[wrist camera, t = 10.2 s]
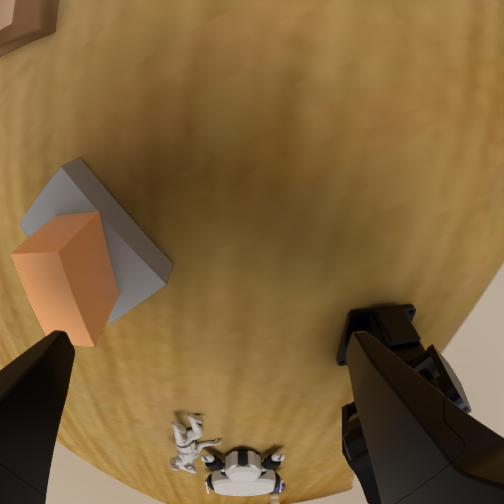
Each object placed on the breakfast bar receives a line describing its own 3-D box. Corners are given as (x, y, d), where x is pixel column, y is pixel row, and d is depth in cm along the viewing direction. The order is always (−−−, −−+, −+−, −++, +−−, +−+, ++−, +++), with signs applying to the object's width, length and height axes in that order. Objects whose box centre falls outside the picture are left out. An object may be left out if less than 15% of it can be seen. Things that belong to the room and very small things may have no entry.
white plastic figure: (223, 408, 31) (227, 468, 34) (196, 391, 35) (203, 451, 37) (169, 438, 26) (184, 496, 28) (144, 415, 29) (161, 475, 31)
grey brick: (174, 260, 21) (166, 284, 19) (122, 298, 23) (111, 323, 20) (83, 155, 17) (60, 166, 15) (39, 209, 19) (18, 225, 16)
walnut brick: (60, -8, 11) (20, -24, 6) (56, 32, 12) (12, 23, 8) (1, 20, 10) (-41, 16, 6) (-3, 58, 12) (-47, 60, 8)
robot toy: (197, 438, 35) (208, 476, 41) (195, 465, 31) (207, 497, 37) (287, 436, 36) (278, 475, 42) (290, 463, 32) (281, 496, 38)
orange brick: (119, 294, 19) (94, 347, 15) (78, 293, 19) (49, 341, 14) (99, 211, 16) (58, 252, 12) (55, 215, 16) (11, 253, 12)
